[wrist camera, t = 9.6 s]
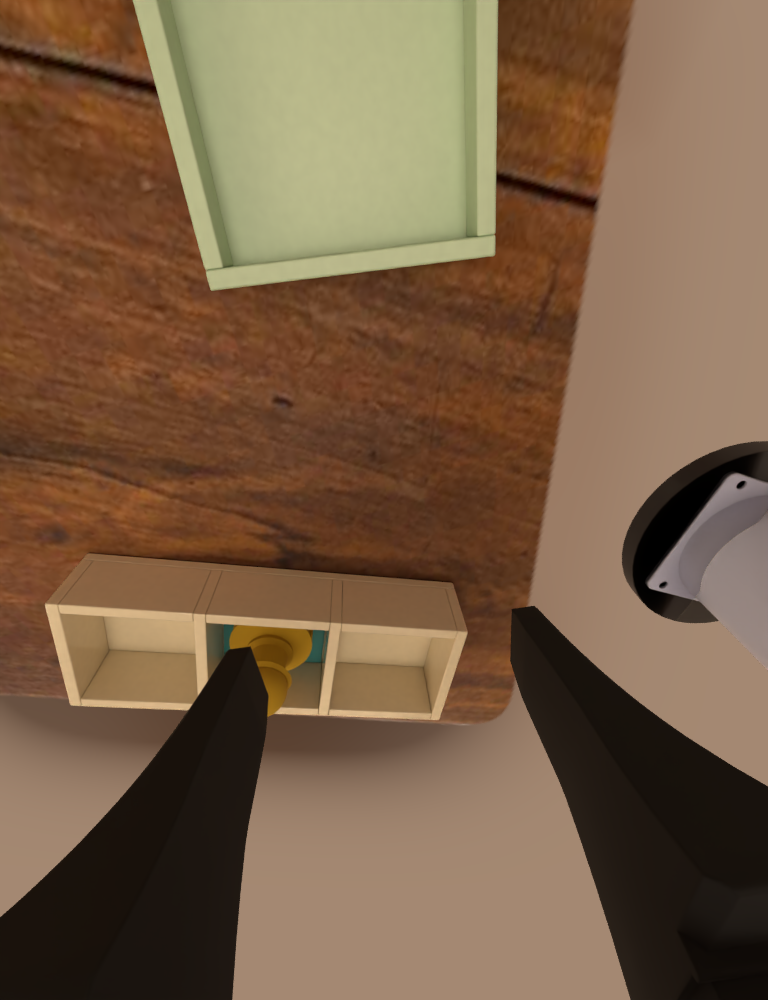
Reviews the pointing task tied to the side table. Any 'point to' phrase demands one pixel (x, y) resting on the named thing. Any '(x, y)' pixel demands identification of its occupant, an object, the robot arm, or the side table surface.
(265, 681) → the chess piece
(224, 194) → the tray
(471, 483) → the side table surface
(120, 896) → the robot arm
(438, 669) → the three-compartment organizer
